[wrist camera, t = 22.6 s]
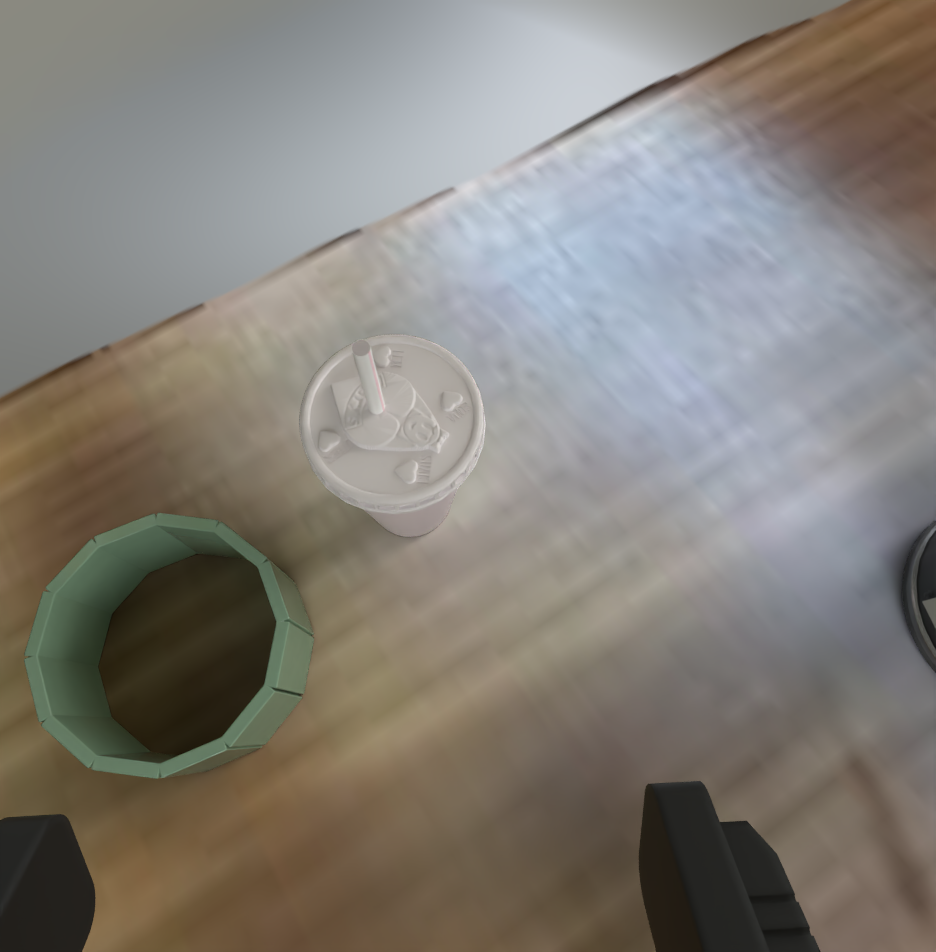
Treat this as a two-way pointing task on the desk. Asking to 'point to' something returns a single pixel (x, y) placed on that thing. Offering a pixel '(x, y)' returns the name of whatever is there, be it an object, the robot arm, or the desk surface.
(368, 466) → the smoothie
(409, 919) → the desk surface
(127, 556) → the holder
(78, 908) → the robot arm
